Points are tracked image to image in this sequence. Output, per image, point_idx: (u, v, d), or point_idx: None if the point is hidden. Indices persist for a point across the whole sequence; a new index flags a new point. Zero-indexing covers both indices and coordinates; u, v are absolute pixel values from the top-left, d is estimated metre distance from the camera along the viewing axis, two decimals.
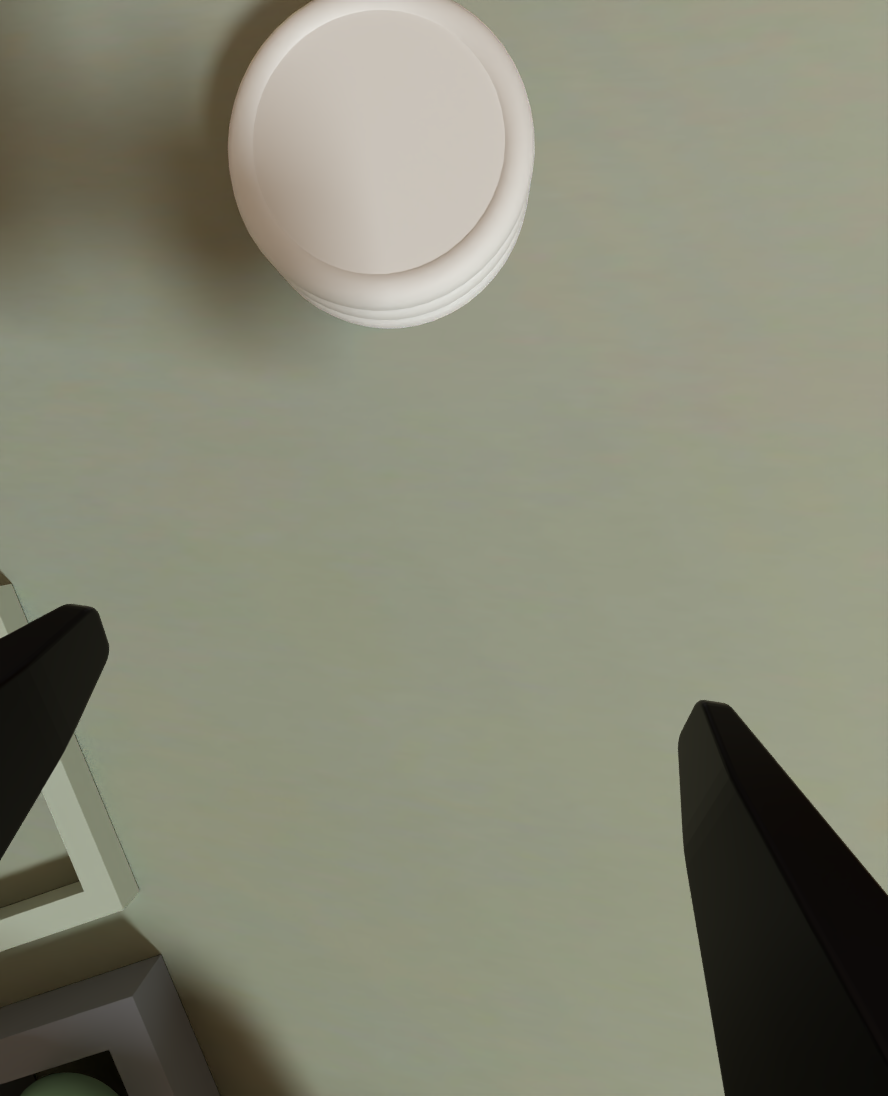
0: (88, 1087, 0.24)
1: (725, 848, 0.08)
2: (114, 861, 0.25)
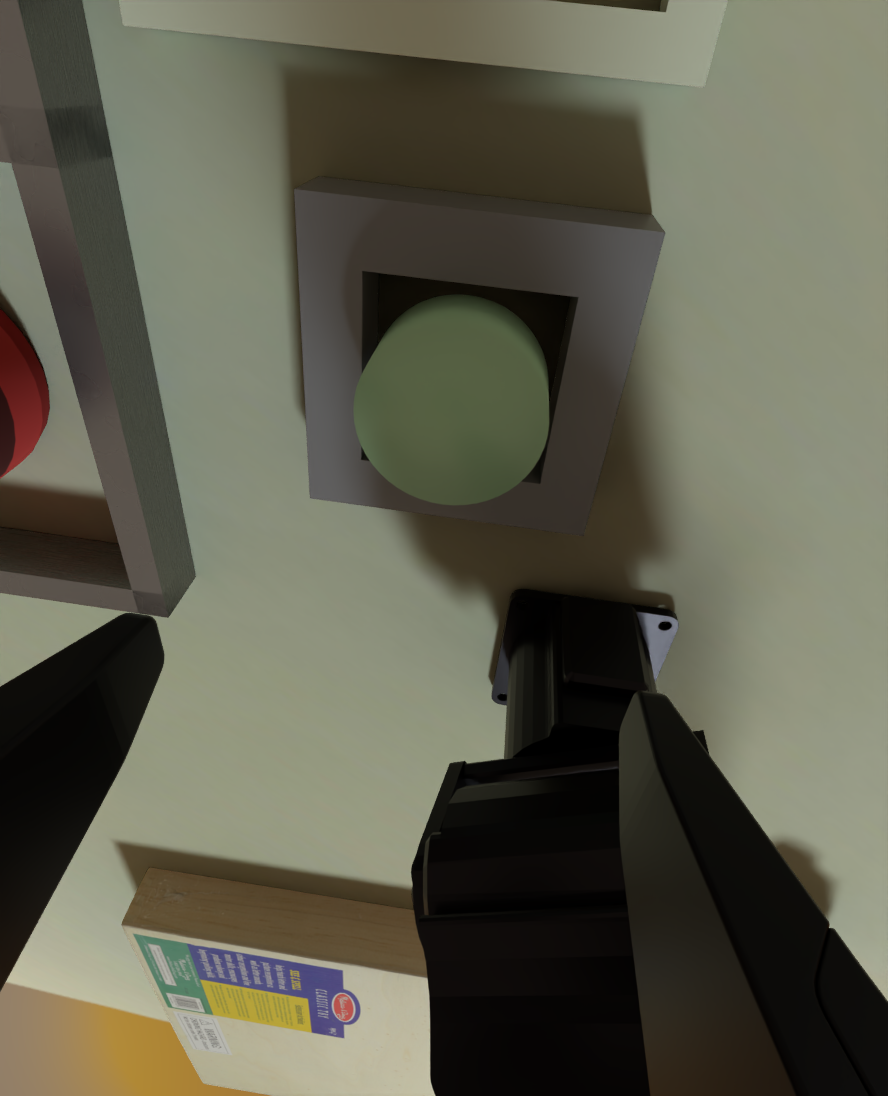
0: (529, 333, 0.17)
1: (652, 836, 0.08)
2: None
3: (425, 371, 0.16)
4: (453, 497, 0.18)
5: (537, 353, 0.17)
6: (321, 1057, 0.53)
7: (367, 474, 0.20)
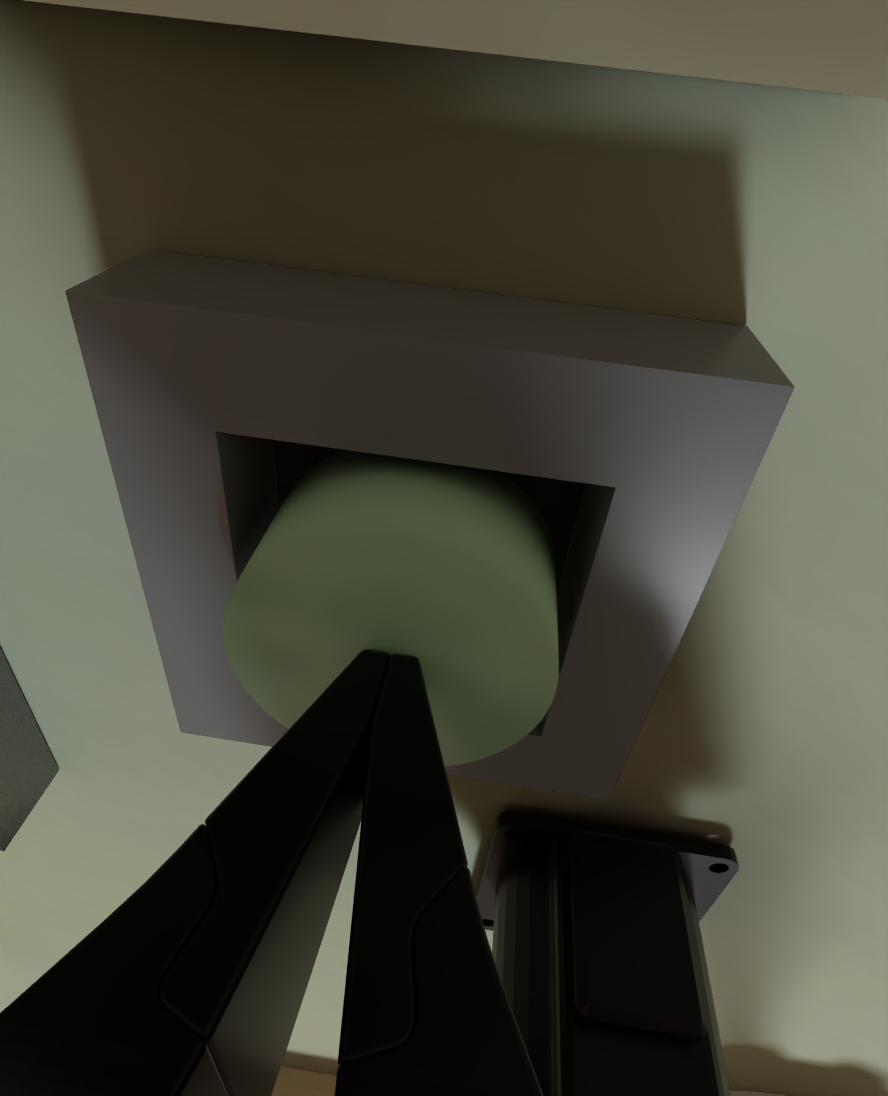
0: (524, 507, 0.10)
1: None
2: None
3: (340, 596, 0.09)
4: None
5: (538, 546, 0.10)
6: None
7: None
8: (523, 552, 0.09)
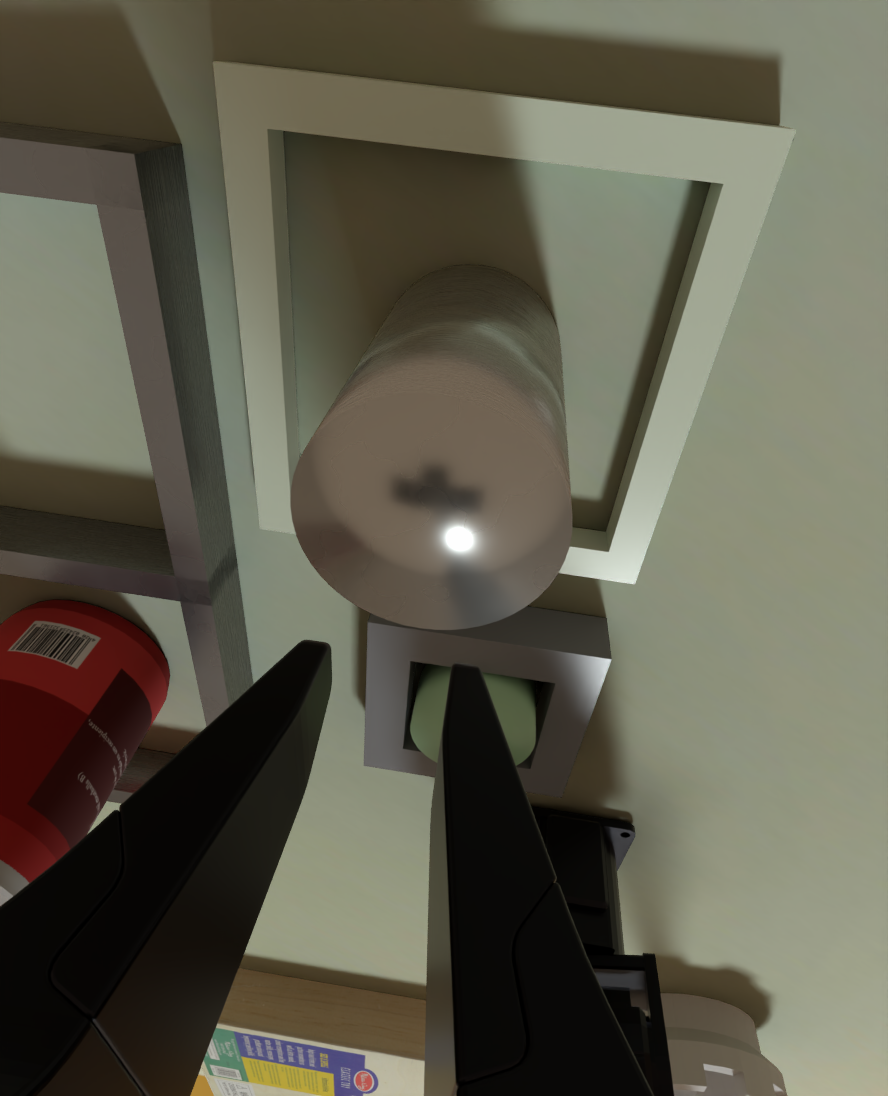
0: None
1: (437, 802, 0.08)
2: None
3: None
4: None
5: (528, 689, 0.26)
6: None
7: (406, 756, 0.28)
8: (522, 695, 0.25)
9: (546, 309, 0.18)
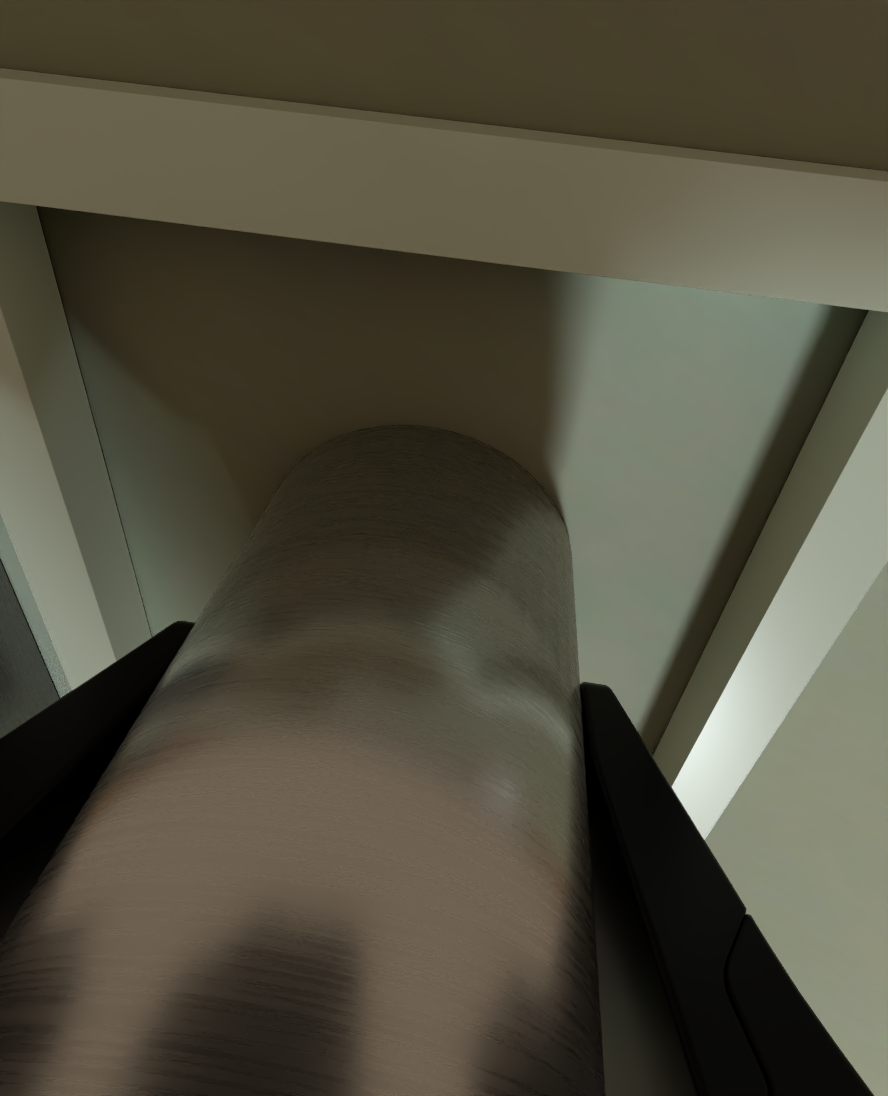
0: None
1: None
2: None
3: None
4: None
5: None
6: None
7: None
8: None
9: (546, 503, 0.10)
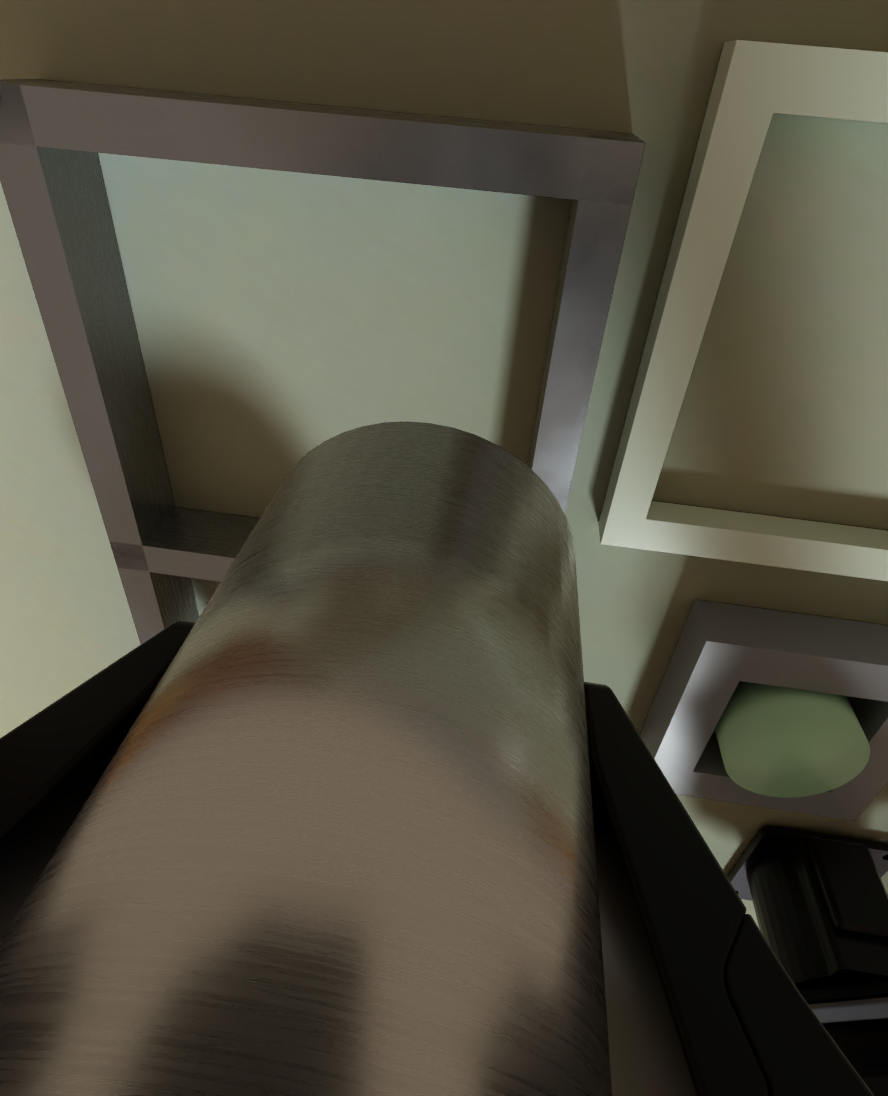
0: None
1: None
2: None
3: (788, 734, 0.23)
4: (780, 793, 0.25)
5: (852, 709, 0.24)
6: None
7: (694, 779, 0.27)
8: (854, 715, 0.24)
9: (549, 500, 0.10)
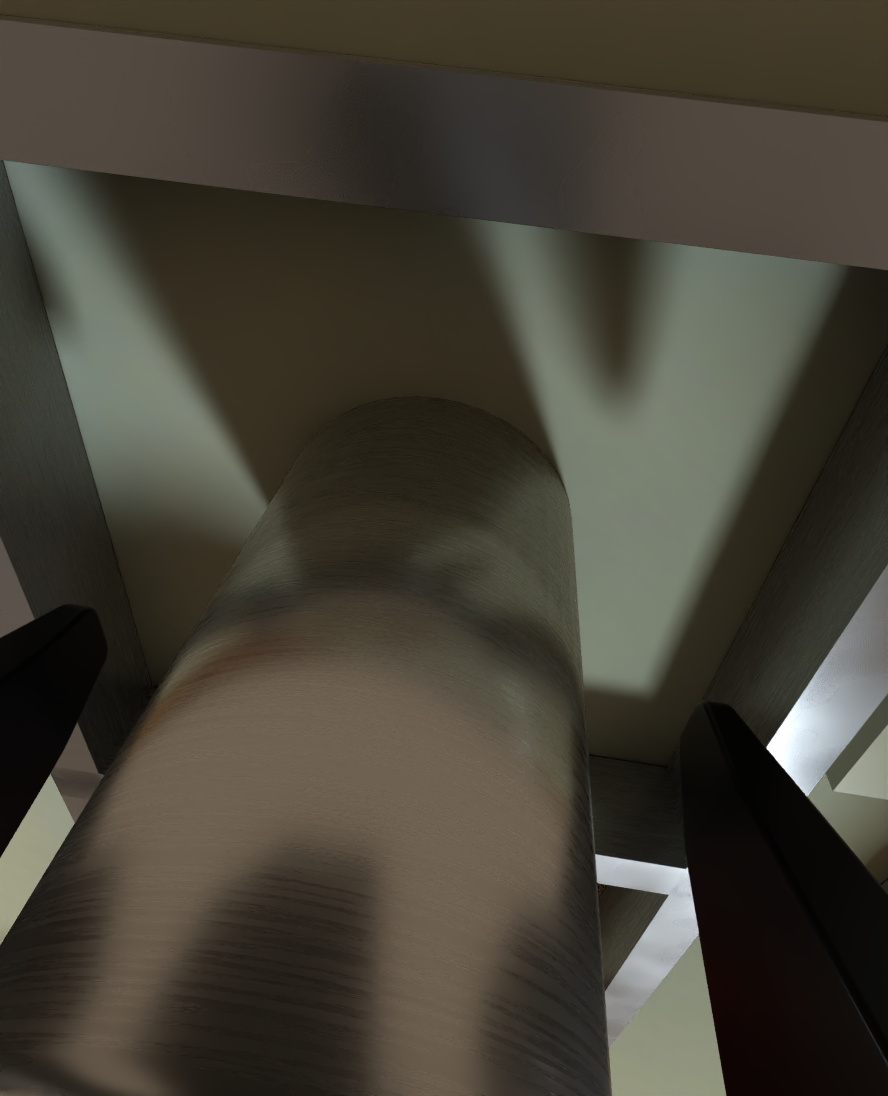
0: None
1: (726, 848, 0.08)
2: None
3: None
4: None
5: None
6: None
7: None
8: None
9: (548, 470, 0.11)
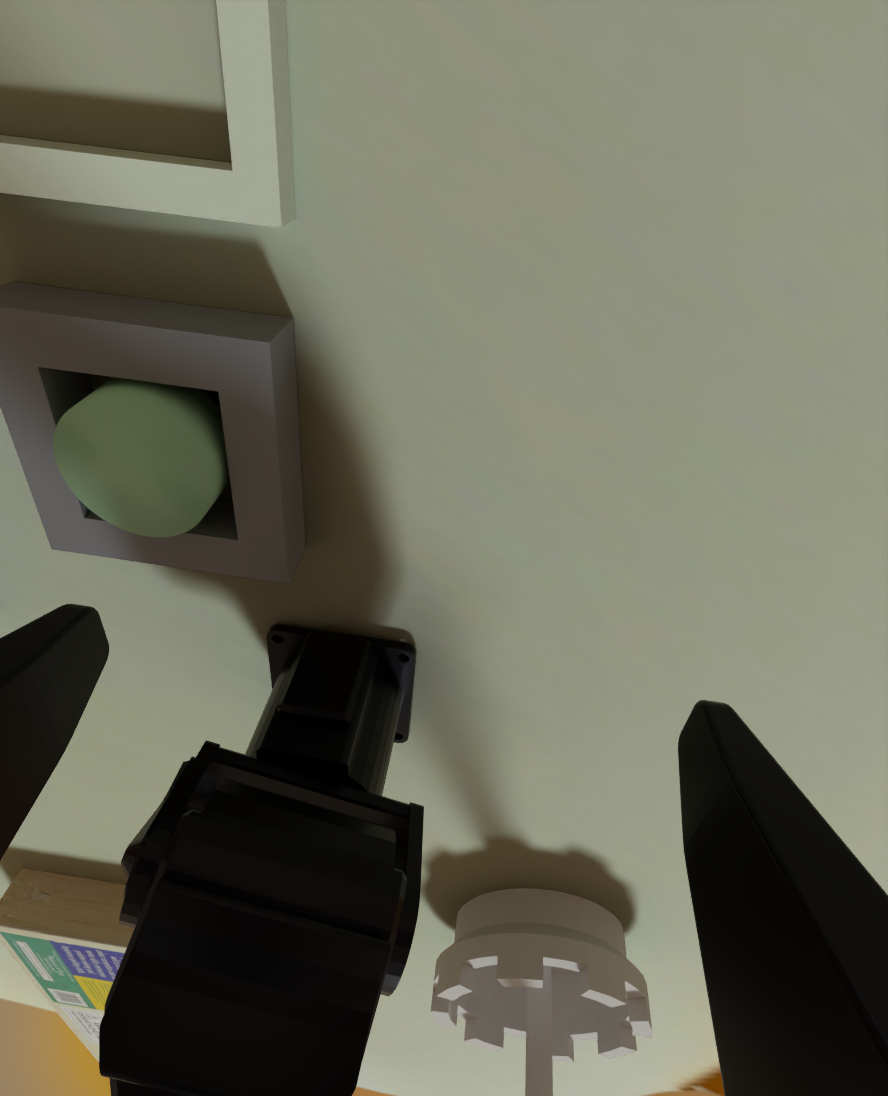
0: (203, 400, 0.21)
1: (725, 848, 0.08)
2: (283, 150, 0.17)
3: (101, 434, 0.20)
4: (154, 531, 0.22)
5: (205, 417, 0.20)
6: None
7: (93, 530, 0.23)
8: (188, 416, 0.20)
9: None
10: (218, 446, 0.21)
